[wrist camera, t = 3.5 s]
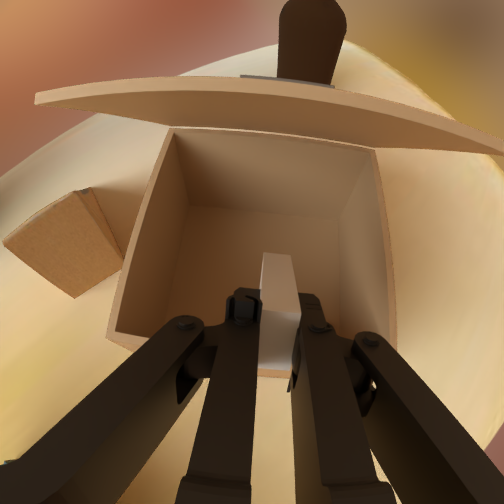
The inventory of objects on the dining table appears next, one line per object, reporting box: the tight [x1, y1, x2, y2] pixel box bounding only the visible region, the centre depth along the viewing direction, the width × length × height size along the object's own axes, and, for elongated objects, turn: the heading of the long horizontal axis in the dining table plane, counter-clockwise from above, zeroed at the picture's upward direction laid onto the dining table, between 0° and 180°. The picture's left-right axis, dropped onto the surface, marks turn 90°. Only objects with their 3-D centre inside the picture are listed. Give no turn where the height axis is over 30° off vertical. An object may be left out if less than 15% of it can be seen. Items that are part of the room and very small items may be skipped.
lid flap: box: [34, 75, 504, 156], centre depth 18 cm, size 20×20×1 cm
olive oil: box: [277, 0, 347, 85], centre depth 40 cm, size 11×11×25 cm
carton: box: [106, 128, 397, 378], centre depth 29 cm, size 20×20×13 cm
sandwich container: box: [2, 187, 124, 299], centre depth 30 cm, size 9×15×15 cm, turn 35°
